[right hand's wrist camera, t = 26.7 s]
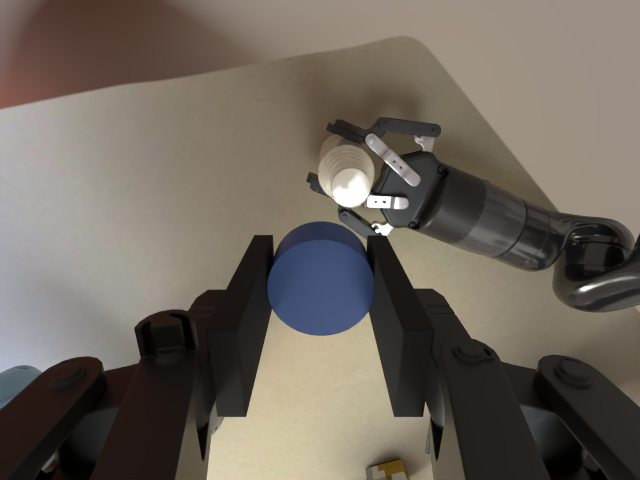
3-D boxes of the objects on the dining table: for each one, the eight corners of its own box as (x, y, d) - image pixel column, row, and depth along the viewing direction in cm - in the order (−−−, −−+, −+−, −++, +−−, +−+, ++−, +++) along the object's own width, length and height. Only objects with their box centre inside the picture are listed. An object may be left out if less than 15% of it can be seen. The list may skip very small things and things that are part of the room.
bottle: (313, 143, 41) (306, 169, 23) (351, 126, 40) (371, 141, 23) (328, 179, 42) (331, 229, 25) (364, 165, 42) (394, 205, 24)
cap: (333, 321, 15) (335, 352, 14) (256, 277, 15) (246, 303, 13) (387, 253, 14) (398, 277, 12) (307, 202, 14) (305, 217, 12)
